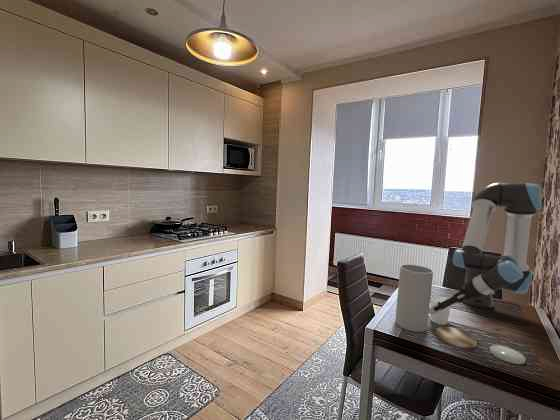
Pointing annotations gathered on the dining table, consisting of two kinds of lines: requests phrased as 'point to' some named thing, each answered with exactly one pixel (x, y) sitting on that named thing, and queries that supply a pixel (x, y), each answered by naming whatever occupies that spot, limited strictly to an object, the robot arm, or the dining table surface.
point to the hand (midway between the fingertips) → (436, 309)
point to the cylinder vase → (413, 297)
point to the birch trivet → (456, 337)
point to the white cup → (442, 315)
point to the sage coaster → (507, 354)
